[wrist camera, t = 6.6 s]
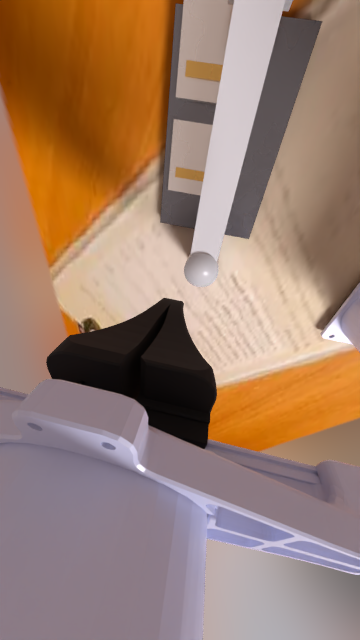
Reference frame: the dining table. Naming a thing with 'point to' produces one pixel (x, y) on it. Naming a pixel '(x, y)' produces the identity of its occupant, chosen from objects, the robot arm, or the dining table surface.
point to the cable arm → (232, 127)
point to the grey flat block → (200, 103)
